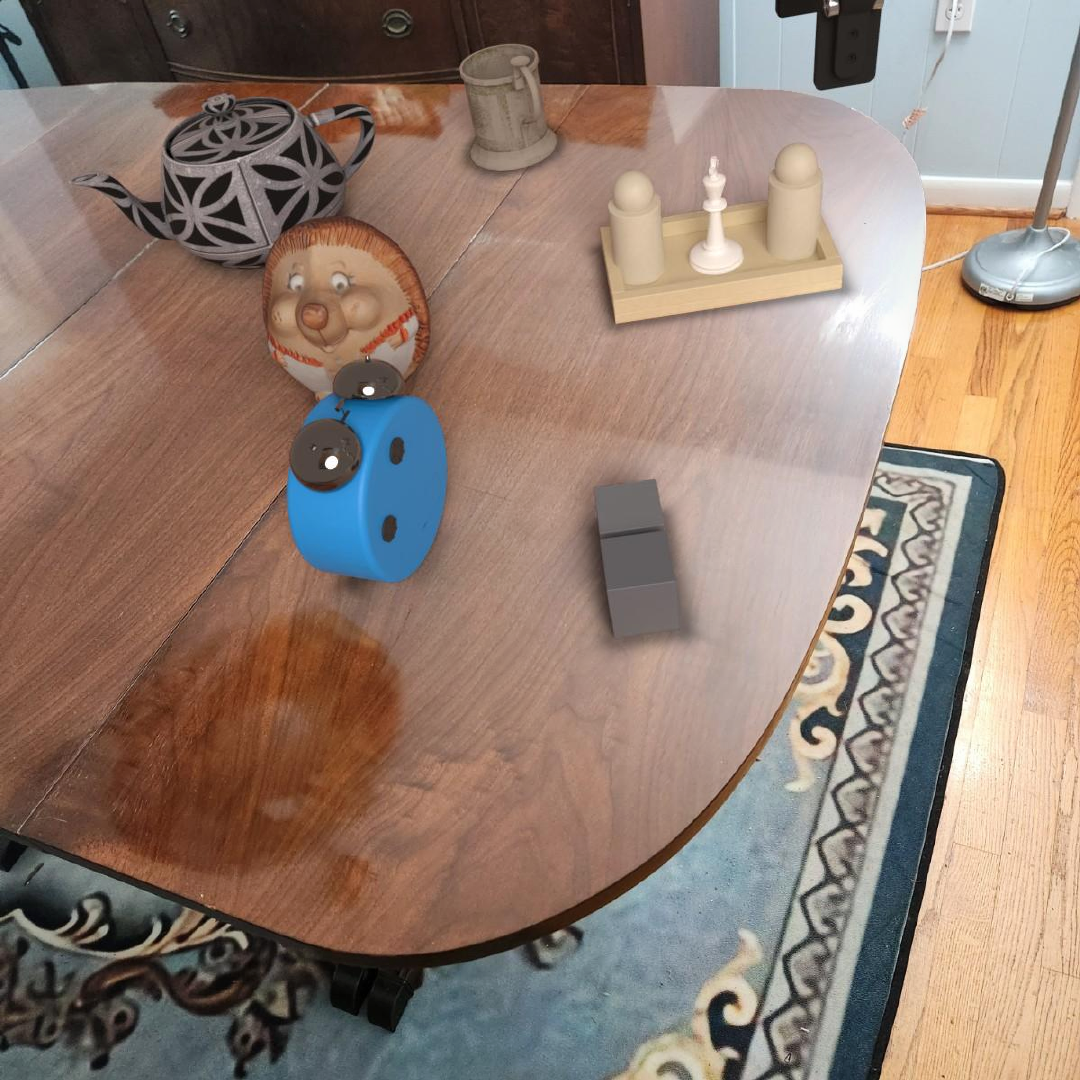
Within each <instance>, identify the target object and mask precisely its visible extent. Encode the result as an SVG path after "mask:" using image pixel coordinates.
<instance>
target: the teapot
mask: <svg viewBox="0 0 1080 1080" xmlns="http://www.w3.org/2000/svg"><path fill="white" fill-rule="evenodd" d="M201 109H202V110H200V111H198V112H195V113H194V114H192V115H190V116H188V117H187V118H185V119H184V120H182V121H181V122H180V123H178V124H177V125H175V127H173V128H172V129H171V130H170V132H168V133H167V135H166V137H165V138H164V140H163V142H162V145H161V154H160V155H161V156H160V193H161V200H159V201H147V200H144V199H141V198H139V197H137V196H136V195H134V194H133V193H132V192H131V191H130V190H129V189H128V188H127V187H126V186H124V185H123V184H122V182H121V181H120V180H118V179H116V178H115V177H113V176H111V175H109V174H107V173H103V172H90V173H86V174H83V175H79V176H77V177H74V178H72V179H70V180H69V181H68V184H69V185H72V186H78V187H85V188H86V187H87V188H90V189H93V190H96V191H98V192H100V193H101V194H103V195H104V196H105V197H107V198H109V199H110V201H112V203H114V204H115V206H116V207H117V208H118V209H119V210H120V211H121V212H122V213H123V215H125V216H126V218H127V219H128V220H129V221H130V222H131V223H132V224H133V226H135V227H136V228H137V229H138V230H140V231H141V232H142V233H144V234H146V235H148V236H150V237H153V238H155V239H159V240H163V241H176V242H177V244H178V245H180V247H181V248H183V249H184V250H185V251H186V252H188V253H189V254H191V255H193V256H195V257H196V258H198V259H201V260H204V261H206V262H210V263H212V264H217V265H220V266H223V267H226V268H232V269H241V270H242V269H245V270H246V269H256V268H263V267H265V264H266V261H267V257H268V255H269V252H270V250H271V247H272V246H273V244H274V242H275V241H276V240H277V239H278V237H279V236H280V235H281V234H282V233H283V232H285V231H287V230H288V229H290V228H292V227H293V226H295V225H296V224H299V223H301V222H304V221H307V220H310V219H314V218H321V217H327V216H339V214H340V212H341V210H342V208H343V206H344V202H345V201H346V200H345V199H346V193H347V184H346V183H347V182H348V181H349V180H351V178H352V177H353V176H354V175H355V174H356V173H357V172H358V171H359V169H360V168H361V167H362V166H363V164H364V163H365V161H366V160H367V158H368V157H369V155H370V152H371V150H372V148H373V145H374V141H375V137H376V122H375V117H374V115H373V113H372V112H371V110H370V109H369V107H367V106H366V105H363V104H361V103H346V104H339V105H336V106H332V107H327V108H325V109H321V110H318V111H315V112H312V113H308V114H306V115H303V114H302V113H301V111H300V110H299V109H298V108H297V107H295V106H294V104H292V103H290V102H289V101H287V100H285V99H281V98H277V97H271V96H250V97H243V98H237V97H236V96H235V95H234V94H232V93H228V92H227V93H218V94H215V95H212V96H210V97H208V98H207V99H205V100H204V101H203V102H202V104H201ZM345 119H357V120H359V123H360V132H359V138H358V142H357V145H356V147H355V149H354V151H353V152H352V155H351V156H350V157H349V159H348V160H347V161H346V162H345V163H344V164H343V166H342V165H341V164H340V163H341V162H340V161H339V159H338V157H337V156H336V154H335V152H334V151H333V149H332V148H331V147H330V145H329V144H328V142H327V141H326V140H325V138H324V137H323V135H322V134H321V133H320V132H319V131H318V129H316V128H318V127H321V126H324V125H327V124H330V123H334V122H337V121H341V120H345Z"/></svg>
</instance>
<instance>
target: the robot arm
mask: <svg viewBox="0 0 1080 1080" xmlns="http://www.w3.org/2000/svg"><path fill="white" fill-rule="evenodd" d="M884 4H885V0H774V11H775V14H776V16H777V17H778V18H779V19H787V18H792V17H798V16H803V15H810V14H814V13H815V14H816V19H815V20H816V21H815V37H814V56H813V57H814V58H813V73H812V74H813V77H812V82H813V85H814V87H815V89H816V90H817V91H820V92H822V91H829V90H835V89H840V88H846V87H853V86H858V85H862V84H863V85H864V84H868V83H871V82H872V81H873V80H874V79H875V77H876V73H877V63H878V62H877V61H878V54H879V53H878V52H879V44H880V43H879V42H880V33H881V32H880V31H881V22H882V13H883V7H884Z"/></svg>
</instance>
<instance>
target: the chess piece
mask: <svg viewBox="0 0 1080 1080" xmlns="http://www.w3.org/2000/svg"><path fill="white" fill-rule="evenodd" d="M719 165H720V159H718V156H717V155H711V157H710V166H709V169H708V174H706V175H704V176H703V177H702V181H701V182H702V185H703V188H704V191H705V193H706V195H707V198H706V199H704V200H703V202H702V206H701V207H702V209H703V210H706V211H708V212H709V222H708V232H707V239H706V240H704V241H701V242H699V243H698V244H696V245H695V246H694V247H693V248H692V249H691V251H690V255H689V256H690V257H689V264H690V266H691V267H692V268H693V269H694V270H695V271H697V272H699V273H702V274H707V275H719V274H725V273H728V272H731V271H733V270H735V269H736V268H738V267H739V266H740V265H741V263H742V262H743V251H742V248H741V246H740V245H739V244H738V243H737V242H735V241H733V240H731V239H727V238H725V237H724V231H723V225H722V219H721V210H723V209H725V208H726V207H728V202H727V199H726V198H724V197H722V194H723V190H724V188H725V185H726V183H727V177H726V175H724V174H723V173H720V172H718V167H719Z"/></svg>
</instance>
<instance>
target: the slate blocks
mask: <svg viewBox="0 0 1080 1080" xmlns="http://www.w3.org/2000/svg"><path fill="white" fill-rule="evenodd" d="M593 493H594V502H595V509H596V516H597V524H598V526H597V527H598V532H599V542H600V550H601V551H600V552H601V558H602V565H603V572H604V573H603V574H604V582H605V589H606V596H607V602H608V608H609V614H610V621H611V627H612V631H613V638H614V639H618V638H624V637H625V638H626V637H633V636H641V635H647V634H649V635H650V634H655V633H662V632H671V631H676V630H677V631H678V630H680V616H679V615H680V614H679V604H678V593H677V592H678V589H677V579H676V575H675V570H674V569H675V568H674V563H673V558H672V553H671V548H670V547H671V546H670V543H669V537H668V531H667V530H666V528H665V527H666V526H665V520H664V515H663V509H662V503H661V499H660V494H659V489H658V483H657V478H650V479H644V480H643V479H642V480H636V481H630V482H623V483H615V484H609V485H602V486H595V487H593Z"/></svg>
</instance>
